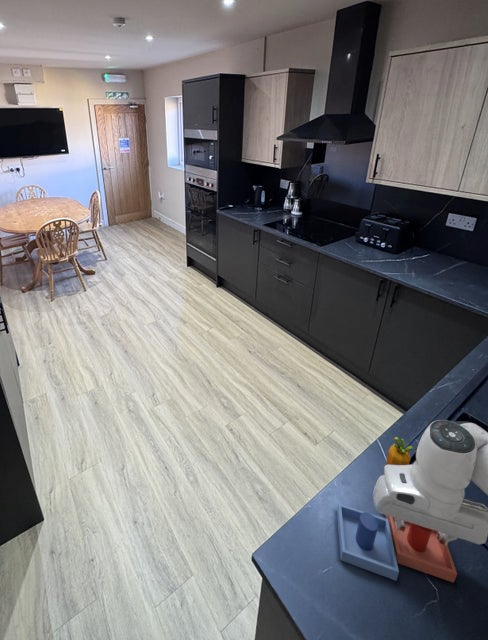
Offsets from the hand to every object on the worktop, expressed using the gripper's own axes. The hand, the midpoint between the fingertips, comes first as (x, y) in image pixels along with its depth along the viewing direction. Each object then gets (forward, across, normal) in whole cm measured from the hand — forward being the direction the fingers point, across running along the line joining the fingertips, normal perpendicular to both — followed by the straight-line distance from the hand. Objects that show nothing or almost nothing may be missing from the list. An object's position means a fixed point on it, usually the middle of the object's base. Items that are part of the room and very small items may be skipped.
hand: (419, 534), depth 72 cm
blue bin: (+4, +11, +4) cm, 12 cm away
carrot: (+4, +2, -14) cm, 15 cm away
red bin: (+4, 0, 0) cm, 4 cm away
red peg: (+3, 0, 0) cm, 3 cm away
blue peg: (+3, +11, +4) cm, 12 cm away
